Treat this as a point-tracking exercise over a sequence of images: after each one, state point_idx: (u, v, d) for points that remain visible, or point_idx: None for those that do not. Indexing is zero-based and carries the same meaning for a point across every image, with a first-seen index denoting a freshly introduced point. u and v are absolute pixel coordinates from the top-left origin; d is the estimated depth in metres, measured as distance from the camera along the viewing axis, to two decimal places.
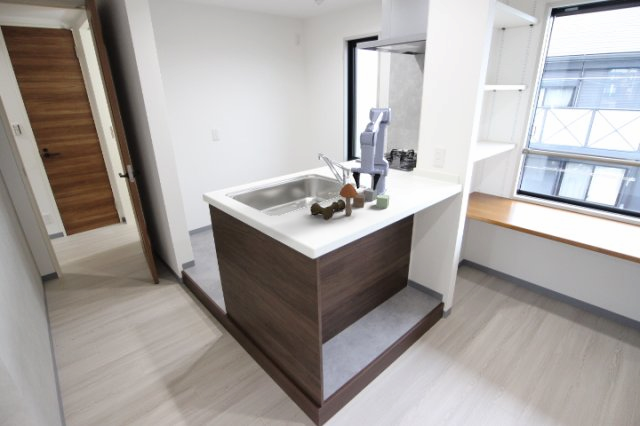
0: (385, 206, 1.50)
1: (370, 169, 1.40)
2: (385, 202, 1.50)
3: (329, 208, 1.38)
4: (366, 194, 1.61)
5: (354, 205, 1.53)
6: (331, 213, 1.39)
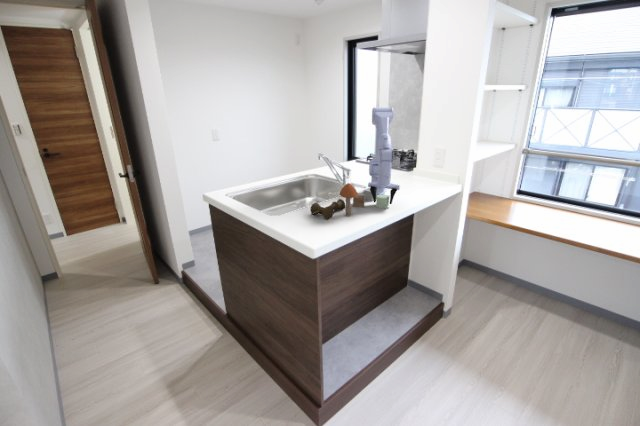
0: (385, 206, 1.50)
1: (387, 184, 1.47)
2: (385, 202, 1.50)
3: (329, 208, 1.38)
4: (366, 194, 1.61)
5: (354, 205, 1.53)
6: (331, 213, 1.39)
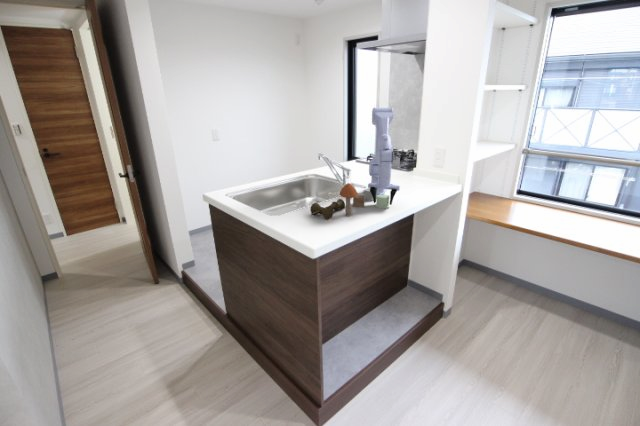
0: (385, 206, 1.50)
1: (387, 185, 1.47)
2: (385, 202, 1.50)
3: (329, 208, 1.38)
4: (366, 194, 1.61)
5: (354, 205, 1.53)
6: (331, 213, 1.39)
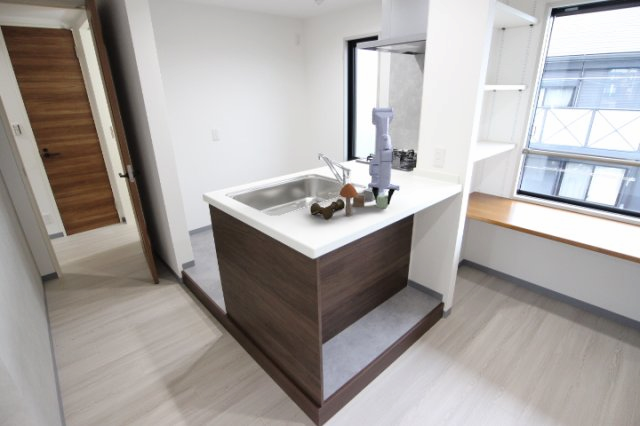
0: (385, 206, 1.50)
1: (387, 185, 1.47)
2: (385, 202, 1.50)
3: (329, 208, 1.38)
4: (366, 194, 1.61)
5: (354, 205, 1.53)
6: (331, 213, 1.40)
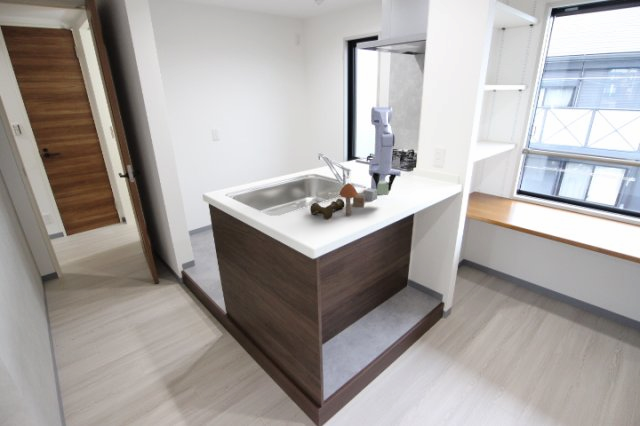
0: (386, 192, 1.48)
1: (388, 170, 1.44)
2: (386, 188, 1.47)
3: (329, 207, 1.38)
4: (366, 194, 1.61)
5: (354, 205, 1.53)
6: (331, 212, 1.40)
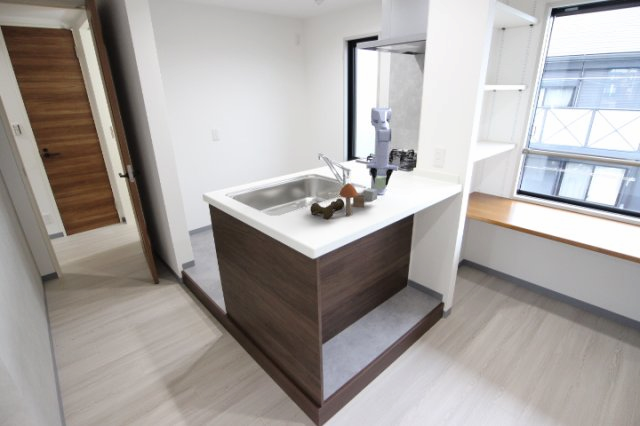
0: (383, 187, 1.50)
1: (385, 165, 1.47)
2: (383, 183, 1.50)
3: (330, 207, 1.38)
4: (366, 194, 1.61)
5: (354, 205, 1.53)
6: (331, 212, 1.40)
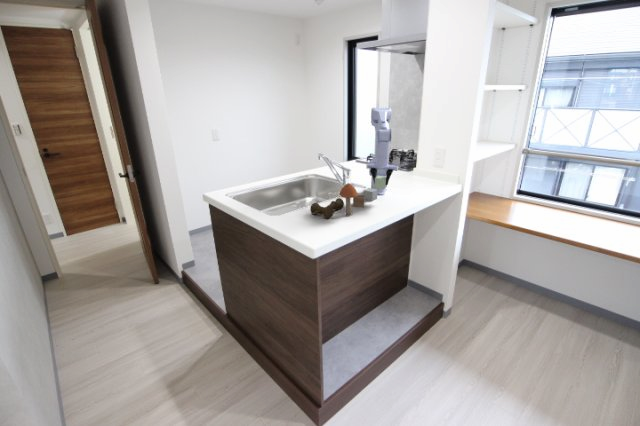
0: (383, 187, 1.50)
1: (385, 165, 1.47)
2: (383, 183, 1.50)
3: (330, 207, 1.39)
4: (366, 194, 1.61)
5: (354, 205, 1.53)
6: (332, 212, 1.40)
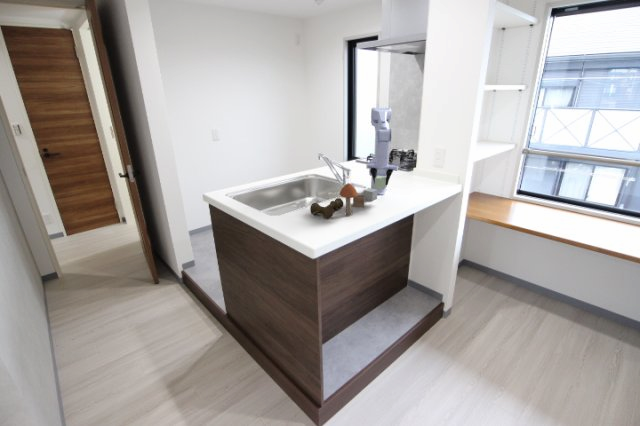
0: (383, 187, 1.50)
1: (385, 165, 1.47)
2: (383, 183, 1.50)
3: (330, 207, 1.39)
4: (366, 194, 1.61)
5: (354, 205, 1.53)
6: (332, 212, 1.40)
